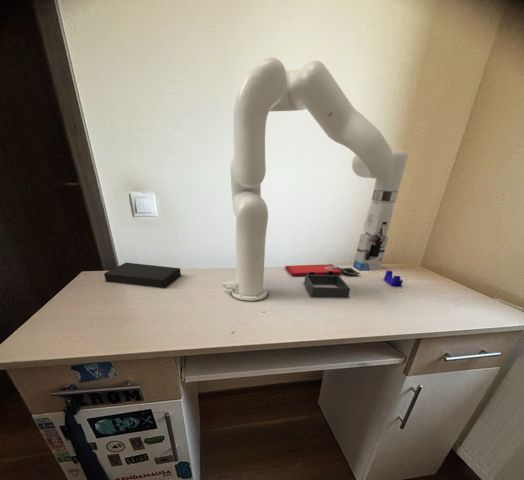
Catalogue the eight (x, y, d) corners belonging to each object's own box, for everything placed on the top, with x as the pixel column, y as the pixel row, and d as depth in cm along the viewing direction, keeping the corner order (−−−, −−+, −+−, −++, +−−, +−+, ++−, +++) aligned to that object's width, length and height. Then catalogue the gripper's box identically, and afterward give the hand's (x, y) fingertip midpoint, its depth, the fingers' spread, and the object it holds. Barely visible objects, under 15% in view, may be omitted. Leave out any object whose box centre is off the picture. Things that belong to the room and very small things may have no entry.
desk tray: (311, 297, 101) (312, 287, 99) (304, 283, 112) (305, 274, 110) (348, 297, 102) (350, 288, 100) (337, 284, 113) (338, 275, 111)
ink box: (359, 271, 101) (367, 236, 94) (352, 267, 104) (359, 233, 98) (380, 270, 103) (389, 236, 96) (372, 266, 107) (380, 233, 100)
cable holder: (400, 286, 114) (404, 277, 112) (392, 286, 114) (395, 277, 111) (391, 279, 121) (394, 270, 118) (383, 279, 120) (386, 270, 118)
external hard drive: (127, 269, 116) (126, 262, 114) (181, 275, 113) (180, 268, 112) (106, 281, 104) (103, 273, 103) (164, 288, 102) (163, 280, 100)
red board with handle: (361, 277, 121) (346, 266, 133) (363, 270, 119) (347, 260, 131) (294, 279, 115) (285, 268, 127) (295, 273, 114) (285, 262, 126)
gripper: (363, 193, 97) (351, 247, 107) (384, 199, 83) (368, 261, 93) (383, 194, 98) (370, 248, 108) (408, 200, 84) (390, 261, 94)
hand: (369, 253), depth 100 cm, fingers closed on ink box, 5 cm apart
